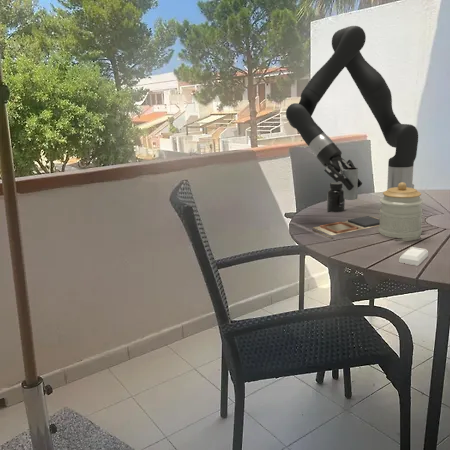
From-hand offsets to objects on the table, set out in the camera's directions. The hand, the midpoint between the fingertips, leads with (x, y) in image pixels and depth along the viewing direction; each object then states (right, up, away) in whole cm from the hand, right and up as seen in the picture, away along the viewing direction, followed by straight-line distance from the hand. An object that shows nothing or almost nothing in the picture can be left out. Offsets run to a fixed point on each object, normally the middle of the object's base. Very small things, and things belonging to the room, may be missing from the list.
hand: (355, 187), depth 145 cm
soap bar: (+9, -23, -24) cm, 34 cm away
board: (+1, -14, +7) cm, 16 cm away
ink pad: (+6, -12, +9) cm, 16 cm away
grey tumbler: (-1, -4, +3) cm, 5 cm away
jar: (+13, -16, -3) cm, 21 cm away
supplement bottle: (+1, -8, +30) cm, 31 cm away
